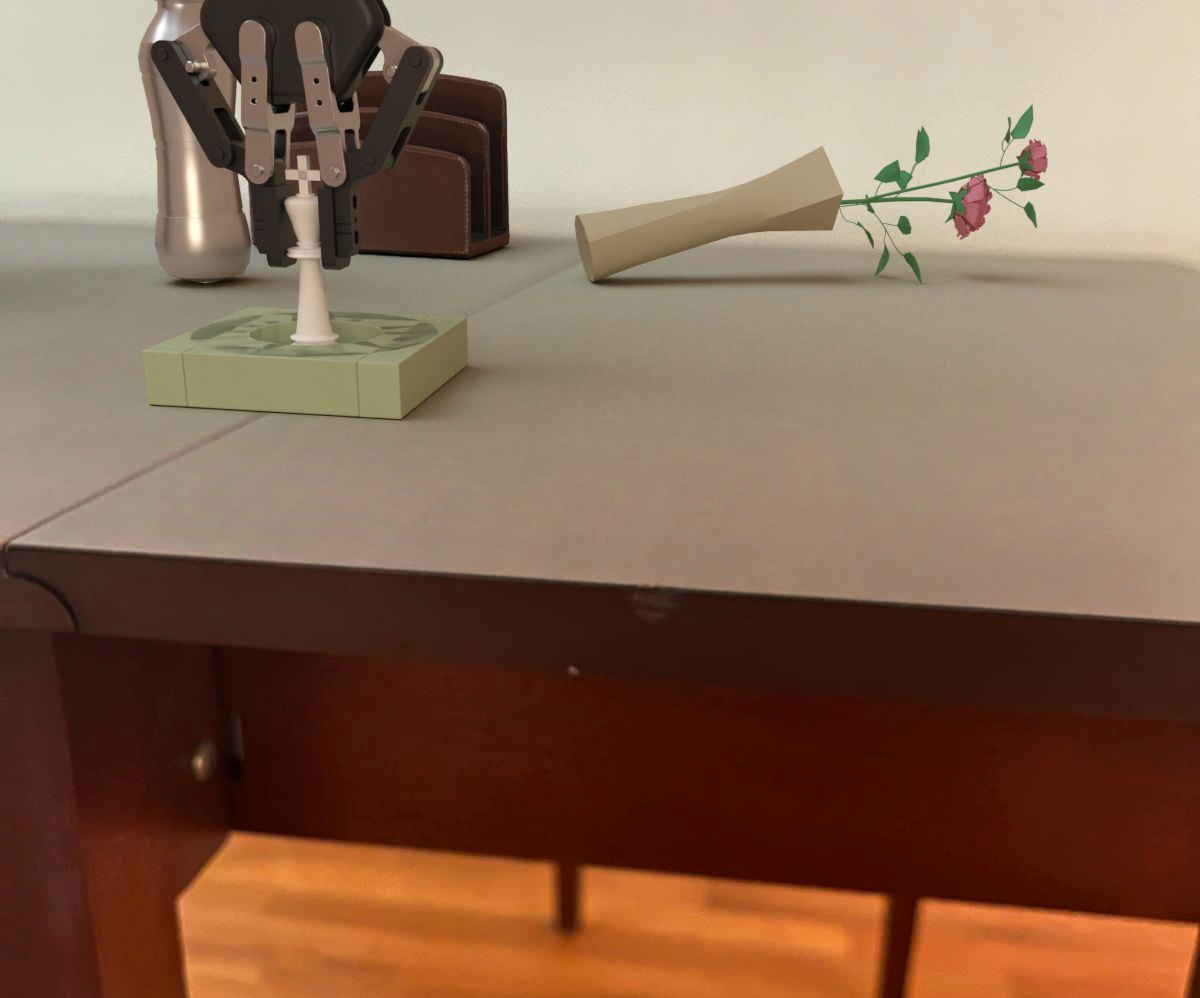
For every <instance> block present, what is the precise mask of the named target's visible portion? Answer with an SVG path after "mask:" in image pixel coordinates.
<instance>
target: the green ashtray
mask: <svg viewBox="0 0 1200 998" xmlns="http://www.w3.org/2000/svg"><path fill="white" fill-rule="evenodd" d="M328 314H329V319H330V324H331V328H332V332H333V333H335V334H337V335H338V336H339V337H338V338H337V339H336V340H334V341H335V342H337V343H339V344H334V345H291V344H293V343H294V342H295V341H294V340H292V339H291V338H290V336H291V335H294V334H296V328H297V318H298V308H280V307H279V308H278V307H260V306H259V307H258V306H254V307H253V306H248V307H245V308H242V309H241V310H238V311H236V312H234V313H231V314H228V315H225V316H224V317H221V318H219V319H216V320H214V321H210V322H209V323H206V324H203V325H201V326H199V327H197V328H194V329H192V330H189V331H186V332H184V333H181V334H180V335H177V336H175V337H172V338H170V339H166V340H165V341H162V342H160V343H157V344H155V345H152V346H150V347H148V348H145V349H143V350H142V352H141V354H142V362H143V363H142V364H143V373H144V380H145V388H146V389H145V391H146V398H147V403H148V405H150V406H151V405H153V406H166V407H167V406H169V407H186V408H187V407H190V408H201V409H202V408H203V409H204V408H205V409H219V410H220V409H222V410H235V411H236V410H237V411H239V410H240V411H253V412H254V411H255V412H270V413H271V412H272V413H273V412H274V413H289V414H306V415H324V416H338V417H339V416H340V417H341V416H342V417H355V418H357V417H358V418H371V419H372V418H373V419H374V418H375V419H377V418H378V419H388V420H389V419H390V420H391V419H392V420H401V419H403V418H405V416H407V415H408V414H409V413H410V412H412V411H413V410H414V409H415V408H416V407H418V406H419V405H420V404H422V403H423V402H424V401H425V400H426V399H427V398H429V397H430V396H431V395H433V394H434V393H435V392H436V391H437V390H438V389H440V388H441V387H442V386H443V385H445V384H446V383H447V382H448V381H449V380H451V379H452V378H453V377H454V376H455V375H457V374H459V372H461V371H462V370H463V369H464V368H465V367H467V366H468V365H469V347H468V346H469V343H468V342H469V341H468V339H469V338H468V317H467V316H451V315H429V314H428V315H427V314H409V313H408V314H407V313H389V312H388V313H387V312H386V313H385V312H384V313H383V312H364V311H342V310H328Z"/></svg>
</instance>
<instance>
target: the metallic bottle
mask: <svg viewBox="0 0 1200 998" xmlns="http://www.w3.org/2000/svg"><path fill="white" fill-rule="evenodd" d="M155 1H156V2H157V3H156V4H157V6H156V7H157V9H156V10H157V11H156V13H155V14H154V16H153V18H152V19H151V22H150V23H149V24H148V26H147V28H146V29H145V31H144V34H143V36H142V38H141V41H140V43H139V49H138V53H137V62H138V68H139V72H141V81H142V86H143V90H144V94H145V99H146V102H147V108H148V113H149V116H150V123H151V130H152V137H153V140H154V142H155V147H154V150H155V159H156V181H157V182H156V186H157V187H156V189H157V192H156V193H157V209H158V211H157V212H158V213H157V214H156V217H155V225H154V227H155V229H154V247H155V250H156V255H157V259H158V262H159V266H160V267H161V268H162V269H163V271H164V272H165V273H166V275H168V276H169V277H173V278H176V279H182V280H186V281H190V282H196V283H201V284H210V283H211V284H212V283H216V282H219V281H224V280H227V279H230V278H234V277H237V276H240V275H244V274H245V272H246V270H247V269H248V267H249V265H250V264H251V263H250V262H251V252H252V251H251V250H252V237H251V233H250V232H251V231H250V228H249V223H248V220H247V216H246V213H245V211H244V210H243V208H244V205H243V200H242V193H241V186H240V180H239V179H240V178H239V174H238V173H235V172H233V171H230V170H228V169H226V168H217V167H215V166H213V165H212V164H211V163H210V161H209V160H208V158H207V156H206V155H205V153H204V151H203V149H202V147H201V146H200V144H199V142H198V140H197V139H196V137H195V135H194V133H193V132H192V130H191V128H190V126H189V124H188V123H187V121H186V119H185V117H184V116H183V114H182V112H181V110H180V108H179V107H178V105H177V103H176V101H175V100H174V98H173V96H172V94H171V93H170V91H169V89H168V87H167V85H166V84H165V82H164V80H163V78H162V77H161V75H160V73H159V71H158V69H157V68H156V66H155V64H154V62H153V61H152V58H151V47H152V45H153V44H154V43H155V42H156V41H158V40H174V39H176V38H177V37H179V36H181V35H182V34H184V33H185V32H187V31H188V30H190V29H191V28H193V27H195V26H196V25H198V24H199V23H200V10H201V6H202V4H203V2H204V0H154V2H155ZM214 58H215V61H216V63H217V74H216V76H215V77H214V80H215V82H216V84H217V85H218V87H219V89H220V91H221V93H222V95H223V96H224V98H225V100H226V102H227V104H228V105H229V107H230V109H231V111H232V113H233V114H234V116H235V117H236V108H237V107H236V104H237V89H238V81H237V79H236V78H235V76H234V75H233V74H232V72H231V71H230V69H229V68H228V66H227V65H226V64H225V62H224V61H223V59H222V58H221V57H220V55H219V54H218V52H217V51H216V50H214Z"/></svg>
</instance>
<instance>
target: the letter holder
mask: <svg viewBox="0 0 1200 998" xmlns="http://www.w3.org/2000/svg"><path fill="white" fill-rule="evenodd" d="M389 85H390V84H389V83H388V82H387V81H386V80H385V79H384V76H383V71H382V70H368V72H367V74H366V75H365V77H364V78H363V80H362V82H361V83H360V85H359V87H358V88H357V90H356V93H357V101H358V109H359V116H360V127H359V130H358V136H359V143H360V148H361V146H362V144H363V142H364V140H365V137H366V135H367V133H368V131H369V129H370V126H371V124H372V122H373V120H374V118H375V115H376V113H377V111H378V109H379V107H380V104H381V102H382V100H383V98H384V96H385V93H386V91H387V89H388V87H389ZM507 100H508V99H507V96H506V92H505V91H504V89H503V87H502V86H500V85H499V84H497V83H495V82H492V81H487V80H483V79H482V80H481V79H477V78H472V77H467V76H459V75H454V74H446V73H440V74H439V76H438V78H437V80H436V82H435V85H434V87H433V89H432V91H431V93H430V95H429V97H428V100H427V102H426V104H425V106H424V108H423V110H422V112H421V114H420V117H419V119H418V121H417V123H416V125H415V127H414V129H413V132H412V134H411V136H410V138H409V140H408V142H407V144H406V146H405V149H404V151H403V153H402V155H401V157H400V159H399V161H398V164H397V165H396V166H395V167H394V168H393V169H391V170H387V171H382V172H379V173H376V174H374V175H371V176H368V177H367V178H365V179H364V180H363V181H362V183H361V185H360V189H359V197H360V218H361V221H360V223H361V239H362V244H361V247H360V250H359V253H369V254H370V253H371V254H372V253H373V254H391V255H406V256H407V255H408V256H424V257H435V258H437V257H438V258H441V257H442V258H456V259H471V258H473V257H477V256H480V255H483V254H486V253H489V252H492V251H494V250H498V249H500V248H503V247H506V246H508V245H509V243H510V237H511V233H510V198H509V197H510V195H509V157H508V156H509V155H508V154H509V153H508V152H509V151H508V104H507V103H508V101H507ZM343 103H344V102H343ZM300 155H306V156H310V170H320V166H319V159H318V152H317V145H316V138H315V135H314V133H313V132H312V130H311V128H310V124H309V117H308V110H307V105H305V104H302V103H299V102H297V103H295V119H294V126H293V128H292V130H291V133H290V169H298V162H297V156H300ZM286 182H287V183H293V185H294V196H296V194H297V193H299V180H286ZM311 187H312V193H314V194H315V196H318V194H317V188H321V187H324V181H323V180H322V181H314V180H311ZM247 189H248V199H249V200H248V202H249V203H248V204H249V218H250V219H249V220H250V222H249V223H250V232H251V233H250V236H251V244H252V245H253V246H254V247H257V246H256V244H255V237H254V224H253V222H254V220H253V211H252V198H251V188H250V185H249V183H248V182H247ZM297 242H298V239H297ZM319 242H320V238H319ZM297 246H299V245H297ZM319 246H321V245H319Z"/></svg>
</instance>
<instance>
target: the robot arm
mask: <svg viewBox="0 0 1200 998" xmlns="http://www.w3.org/2000/svg"><path fill="white" fill-rule="evenodd" d="M390 14H391V13H390V12H389V9H388V7H387V6H386V4H385V1H384V0H204V2H203V4H202V6H201V10H200V23H199V24H198V25H196V26H195V27H193V28H191V29H190V30H188V31H187V32H185V33H184V34H182V35H181V36H179V37H177V38H176V39H174V40H158V41H156V42H155V43H154V44H153V45H152V47H151V58H152V61H153V62H154V64H155V66H156V68H157V69H158V71H159V73H160V75H161V77H162V78H163V80H164V82H165V84H166V85H167V87H168V89H169V91H170V93H171V94H172V96H173V98H174V100H175V101H176V103H177V105H178V107H179V108H180V110H181V112H182V114H183V116H184V117H185V119H186V121H187V123H188V124H189V126H190V128H191V130H192V132H193V133H194V135H195V137H196V139H197V140H198V142H199V144H200V146H201V147H202V149H203V151H204V153H205V155H206V156H207V158H208V160H209V161H210V163H211V164H212V165H213V166H215V167H217V168H226V169H228V170H230V171H233V172H235V173H238V175H240V176H242V177H243V178H244V179H245V181H247V184H248V183H249V185H250V188H251V198H252V211H253V220H254V222H253V224H254V237H255V244H256V246H255V247H256V248H257V251H258V253H259V255H266V262H267V265H268V266H269V267H270V268H282V269H285V268H288V267H291V266H294V265H295V264H297V262H298V259H296V258H291V257H288V256H287V255H286V254H287V253H288V252H289V251H287V249H288V248H291V247H296V246H297V244H296V243H297V237H296V234H295V232H294V230H293V226H292V223H291V220H290V217H289V215H288V213H287V211H286V208H285V205H284V201H285V199H286V198H288V197H291V196H294V185H293V183H287V182H286V174H285V170H286V169H290V133H291V130H292V128H293V126H294V119H295V103H297V102H299V103H302V104H305V105H307V110H308V117H309V124H310V128H311V130H312V132H313V133H314V135H315V138H316V145H317V152H318V159H319V166H320V173H321V177H322V179H323V181H324V187H321V188H317V194H318V211H319V228H320V245H321V259H320V262H321V267H322V268H323V270H327V271H341V270H343V269H347V268H348V267H350V265H351V261H352V257H354V256H356V255H359V254H360V252H359V250H360V247H361V244H362V239H361V223H360V221H361V218H360V197H359V189H360V185H361V183H362V181H363V180H364V179H365V178H367V177H368V176H371V175H374V174H376V173H379V172H382V171H387V170H391V169H393V168H394V167H395V166H396V165H397V164H398V161H399V159H400V157H401V155H402V153H403V151H404V149H405V146H406V144H407V142H408V140H409V138H410V136H411V134H412V132H413V129H414V127H415V125H416V123H417V121H418V119H419V117H420V114H421V112H422V110H423V108H424V106H425V104H426V102H427V100H428V97H429V95H430V93H431V91H432V89H433V87H434V85H435V82H436V80H437V78H438V76H439V74H441V72H442V69H443V67H444V65H445V64H444V63H445V61H444V56H443V54H442V52H441V51H440V49H438V48H436V47H434V46H430V45H424V44H421V43H419V42H418V41H417V40H414V39H413V38H411V37H410V36H408V35H406V34H404V33H403V32H402V31H400V30H398V29H397V28H395V27H393V25H392V17H391V15H390ZM214 50H216V51H217V52H218V54H219V55H220V57H221V58H222V59H223V61H224V62H225V64H226V65H227V66H228V68H229V69H230V71H231V72H232V74H233V75H234V76H235V78H236V79H237V83H239V85H240V123H241V125H240V123H239V121H238V120H237V118H236V115H235V116H234V114H233V113H232V111H231V109H230V107H229V105H228V104H227V102H226V100H225V98H224V96H223V95H222V93H221V91H220V89H219V87H218V85H217V84H216V82H215V80H214V77H215V76H216V74H217V63H216V61H215V58H214ZM380 52H382V54H383V65H382V70H381V71H383V76H384V79H385V80H386V81H387V82H388V83H389V84H390V85H389V87H388V89H387V91H386V93H385V96H384V98H383V100H382V102H381V104H380V107H379V109H378V111H377V113H376V115H375V118H374V120H373V122H372V124H371V126H370V129H369V131H368V133H367V135H366V137H365V140H364V142H363V144H362V146H361V148H360V143H359V136H358V130H359V127H360V116H359V109H358V101H357V93H356V90H357V88H358V87H359V85H360V83H361V82H362V80H363V78H364V77H365V75H366V74H367V72H368V71H370V69H371V67H372V65H373V64H374V62H375V60H376V59H377V57H378V56H379V54H380ZM343 102H344V103H343ZM241 126H242V127H241Z"/></svg>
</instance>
